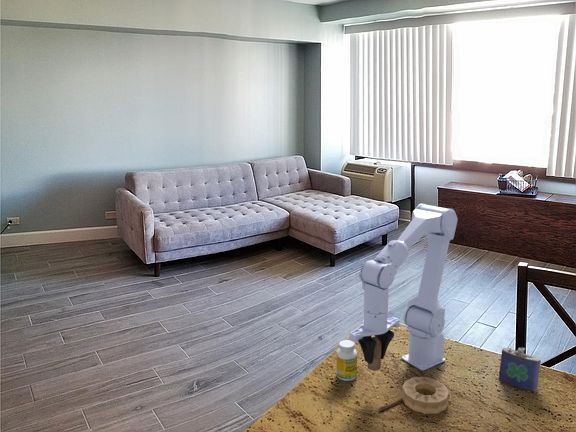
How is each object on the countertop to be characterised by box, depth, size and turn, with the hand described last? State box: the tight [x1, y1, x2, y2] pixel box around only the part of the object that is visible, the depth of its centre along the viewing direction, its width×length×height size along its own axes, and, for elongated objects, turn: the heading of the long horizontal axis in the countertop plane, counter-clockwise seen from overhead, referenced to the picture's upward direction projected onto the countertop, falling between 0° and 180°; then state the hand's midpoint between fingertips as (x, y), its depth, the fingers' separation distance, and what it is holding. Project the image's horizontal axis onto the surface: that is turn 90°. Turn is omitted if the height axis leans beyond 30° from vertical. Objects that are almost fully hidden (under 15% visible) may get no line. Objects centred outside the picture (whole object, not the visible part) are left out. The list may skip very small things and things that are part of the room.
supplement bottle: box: [336, 339, 358, 382], centre depth 132 cm, size 5×5×10 cm
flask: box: [498, 346, 542, 393], centre depth 126 cm, size 9×3×11 cm, turn 50°
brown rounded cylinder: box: [367, 336, 382, 372], centre depth 124 cm, size 3×3×8 cm
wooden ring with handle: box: [378, 376, 450, 415], centre depth 120 cm, size 18×10×3 cm, turn 123°
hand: (374, 359), depth 124 cm, fingers closed on brown rounded cylinder, 3 cm apart
